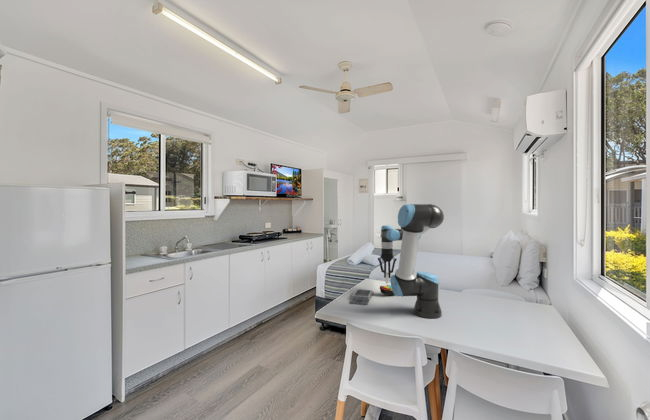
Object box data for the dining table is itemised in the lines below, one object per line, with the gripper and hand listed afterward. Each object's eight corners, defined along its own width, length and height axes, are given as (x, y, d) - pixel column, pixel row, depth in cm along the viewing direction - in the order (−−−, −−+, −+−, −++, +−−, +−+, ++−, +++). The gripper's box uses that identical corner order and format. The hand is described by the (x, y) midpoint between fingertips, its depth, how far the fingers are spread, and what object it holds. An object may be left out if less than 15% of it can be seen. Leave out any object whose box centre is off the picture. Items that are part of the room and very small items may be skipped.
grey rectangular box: (367, 305, 175) (367, 300, 175) (349, 303, 178) (349, 298, 178) (373, 292, 202) (373, 288, 202) (358, 291, 205) (358, 287, 205)
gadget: (376, 289, 195) (379, 282, 195) (391, 292, 201) (394, 285, 200) (381, 294, 189) (384, 286, 189) (396, 297, 195) (399, 290, 194)
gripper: (397, 247, 196) (397, 282, 195) (377, 247, 200) (378, 280, 199) (396, 248, 188) (397, 284, 188) (376, 248, 192) (376, 283, 192)
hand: (387, 282), depth 193 cm, fingers closed
